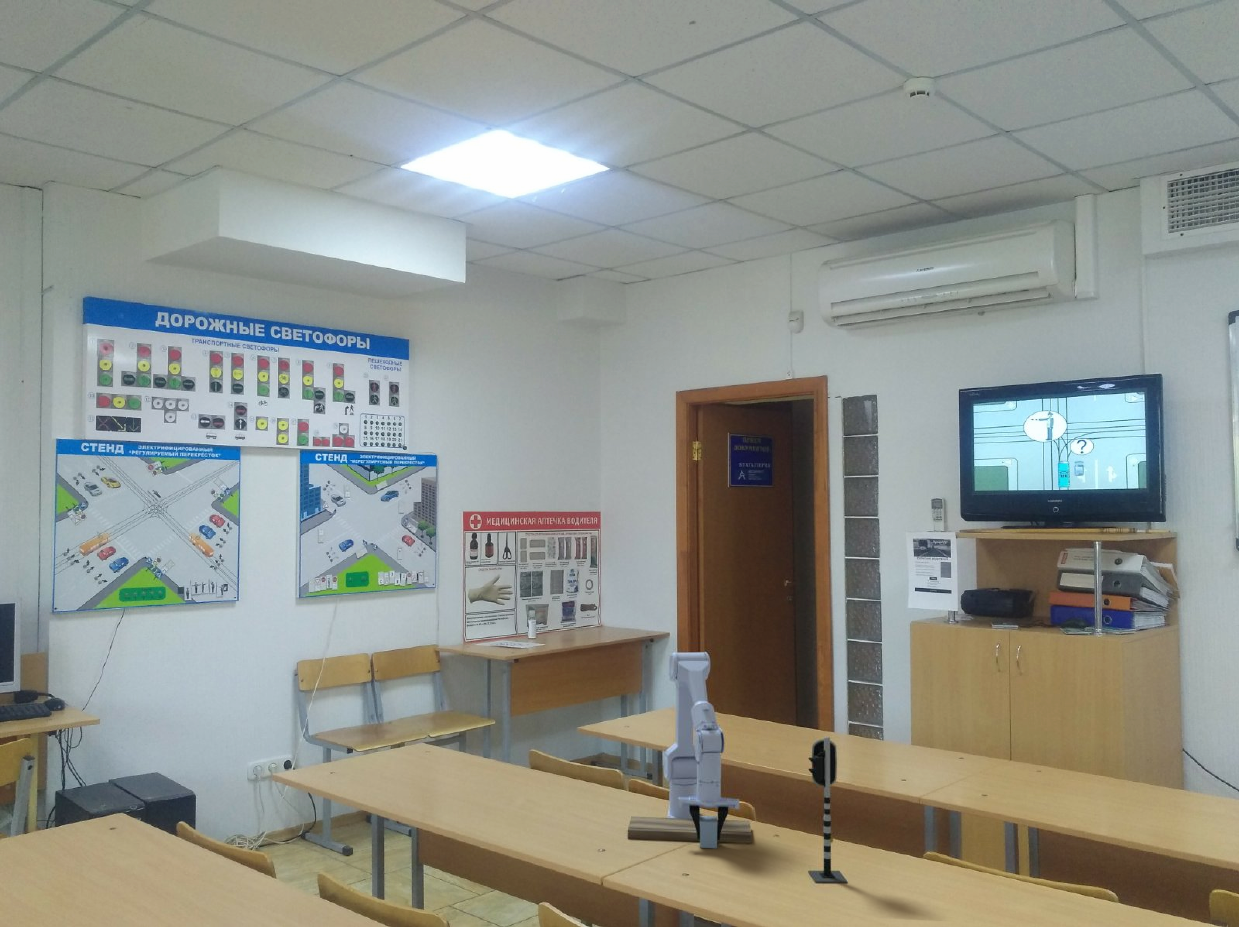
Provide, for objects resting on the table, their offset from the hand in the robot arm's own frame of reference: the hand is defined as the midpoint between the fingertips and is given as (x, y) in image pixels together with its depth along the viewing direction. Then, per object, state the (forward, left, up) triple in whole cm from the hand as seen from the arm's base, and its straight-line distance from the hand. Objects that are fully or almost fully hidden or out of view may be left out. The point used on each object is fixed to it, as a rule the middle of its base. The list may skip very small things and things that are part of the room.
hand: (708, 838), depth 240 cm
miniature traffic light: (+20, +25, -2) cm, 32 cm away
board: (-9, -5, -2) cm, 10 cm away
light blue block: (-2, 0, -2) cm, 2 cm away
